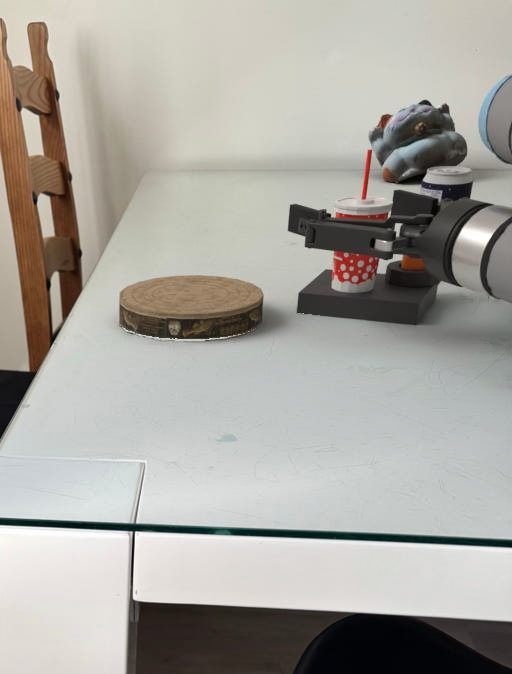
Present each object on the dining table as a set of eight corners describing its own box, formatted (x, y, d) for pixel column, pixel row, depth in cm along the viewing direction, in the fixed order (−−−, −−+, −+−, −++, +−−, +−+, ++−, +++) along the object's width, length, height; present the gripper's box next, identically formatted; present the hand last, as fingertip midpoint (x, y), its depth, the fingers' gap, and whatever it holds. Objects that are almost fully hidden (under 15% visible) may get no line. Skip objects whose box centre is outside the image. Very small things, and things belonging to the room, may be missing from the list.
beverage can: (449, 283, 120) (468, 175, 114) (401, 278, 123) (417, 172, 116) (460, 272, 124) (480, 166, 118) (414, 267, 127) (430, 164, 120)
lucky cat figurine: (381, 185, 172) (365, 102, 171) (378, 202, 184) (363, 124, 182) (473, 155, 168) (458, 70, 166) (464, 175, 179) (450, 95, 178)
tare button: (431, 267, 113) (433, 251, 112) (425, 273, 111) (428, 257, 110) (403, 265, 114) (406, 249, 113) (398, 271, 112) (400, 255, 111)
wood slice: (130, 299, 121) (130, 274, 119) (264, 302, 117) (267, 276, 115) (107, 340, 108) (107, 312, 106) (257, 344, 104) (259, 315, 103)
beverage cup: (331, 278, 116) (346, 144, 108) (385, 282, 113) (405, 145, 105) (318, 292, 111) (333, 153, 103) (374, 296, 109) (394, 155, 101)
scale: (441, 297, 116) (447, 261, 113) (419, 326, 107) (426, 288, 105) (325, 287, 121) (329, 253, 119) (296, 314, 113) (299, 277, 111)
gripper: (363, 307, 93) (243, 260, 109) (574, 270, 99) (430, 231, 116) (374, 221, 88) (248, 186, 105) (594, 189, 95) (442, 160, 112)
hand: (343, 209), depth 111 cm, fingers open, 13 cm apart
